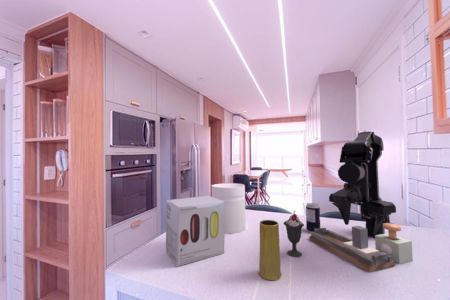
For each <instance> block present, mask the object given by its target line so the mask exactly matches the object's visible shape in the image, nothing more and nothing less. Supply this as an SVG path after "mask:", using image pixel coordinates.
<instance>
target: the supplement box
mask: <svg viewBox="0 0 450 300" xmlns="http://www.w3.org/2000/svg"><path fill="white" fill-rule="evenodd" d="M165 206H166V207H165V211H166V212H165V213H166V215H165V217H166V219H165V223H166V225H165V251H166V253H167V255H168V256H169V258H170V259H171V261H172V262H173V263H174V265H175V267H177V268H178V267H181V266H183V265H187V264H191V263H194V262H198V261H201V260H205V259H208V258H213V257H215V256H220V255H223V254H225V234H224V201H222V200H219V199H216V198H213V197H212V196H211V195H202V196H192V197H185V198H175V199H166V205H165Z"/></svg>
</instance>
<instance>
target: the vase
mask: <svg viewBox="0 0 450 300" xmlns="http://www.w3.org/2000/svg"><path fill="white" fill-rule="evenodd" d="M279 229H280V228H279V222H278V221H277V220H273V219H263V220H261V221H259V268H258V269H259V270H258V275H259V276H260V277H261V278H262V279H264V280H267V281H277V280H280V279H281V278H282V272H281V249H280V248H281V247H280V232H279V231H280V230H279Z"/></svg>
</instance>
